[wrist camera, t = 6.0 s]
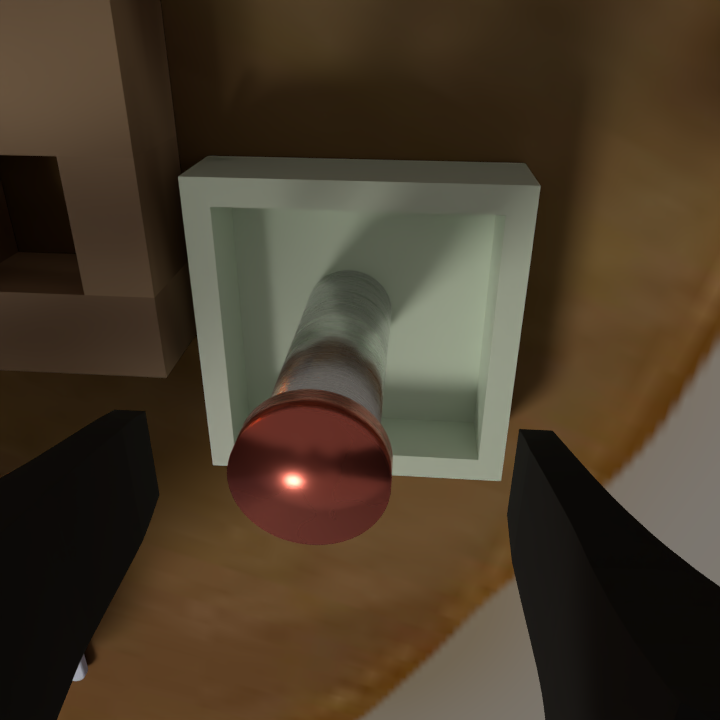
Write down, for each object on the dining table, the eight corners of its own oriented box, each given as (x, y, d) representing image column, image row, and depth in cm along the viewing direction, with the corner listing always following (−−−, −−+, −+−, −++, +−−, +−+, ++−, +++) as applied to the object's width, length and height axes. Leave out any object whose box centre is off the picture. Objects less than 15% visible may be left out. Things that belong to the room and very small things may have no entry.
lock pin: (402, 357, 19) (391, 548, 13) (300, 355, 20) (236, 541, 13) (402, 260, 18) (391, 415, 11) (294, 259, 18) (217, 410, 11)
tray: (492, 431, 21) (501, 481, 19) (233, 418, 22) (212, 465, 19) (525, 162, 17) (540, 186, 15) (207, 155, 18) (177, 176, 16)
